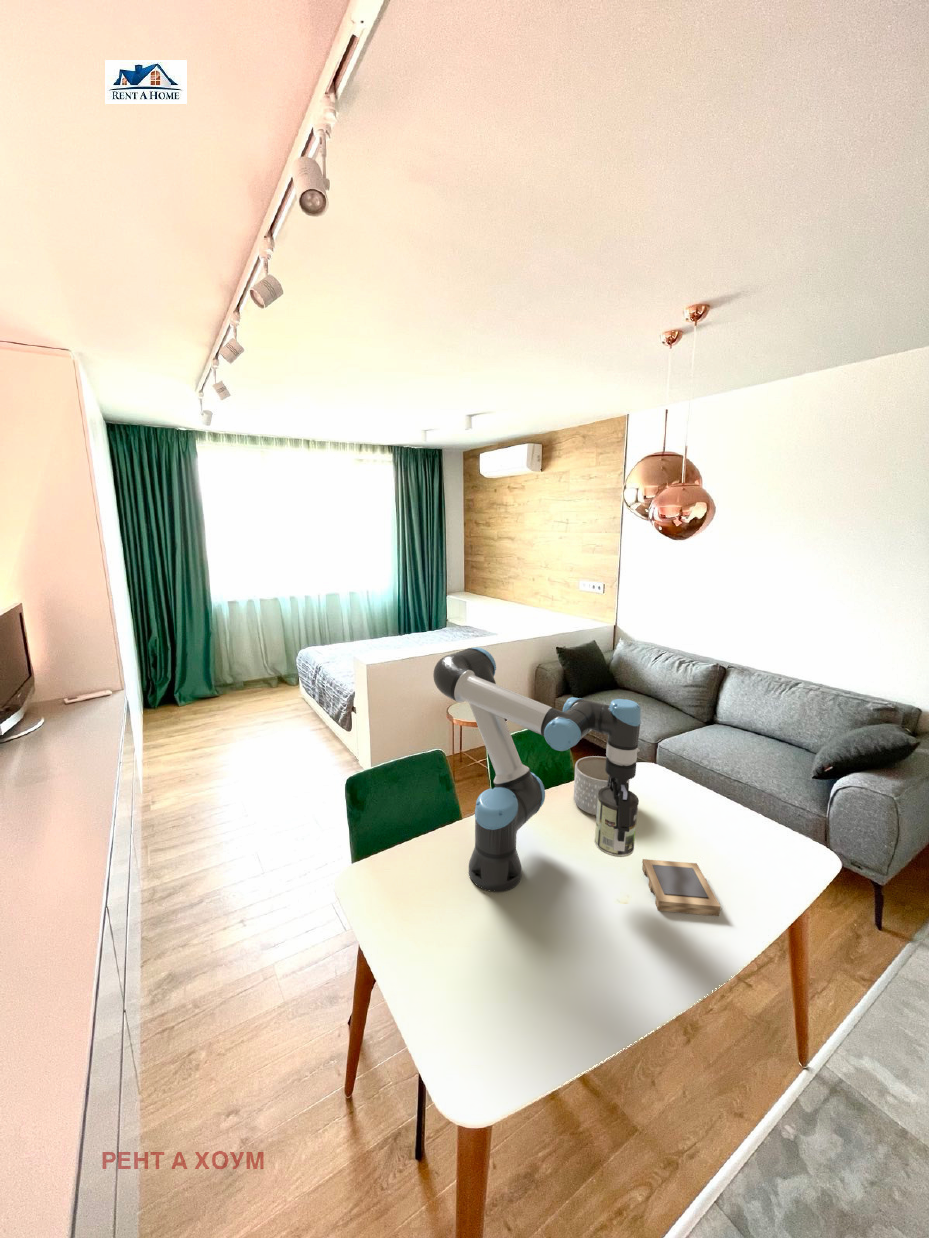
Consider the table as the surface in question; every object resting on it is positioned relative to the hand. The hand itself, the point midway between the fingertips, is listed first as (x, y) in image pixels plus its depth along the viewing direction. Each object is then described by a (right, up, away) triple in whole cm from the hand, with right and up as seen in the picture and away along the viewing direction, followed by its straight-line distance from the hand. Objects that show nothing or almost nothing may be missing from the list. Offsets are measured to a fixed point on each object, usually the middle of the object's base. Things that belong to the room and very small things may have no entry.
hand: (614, 836), depth 125 cm
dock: (+18, -16, +3) cm, 24 cm away
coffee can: (0, -3, +1) cm, 3 cm away
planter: (+9, -9, +43) cm, 45 cm away
